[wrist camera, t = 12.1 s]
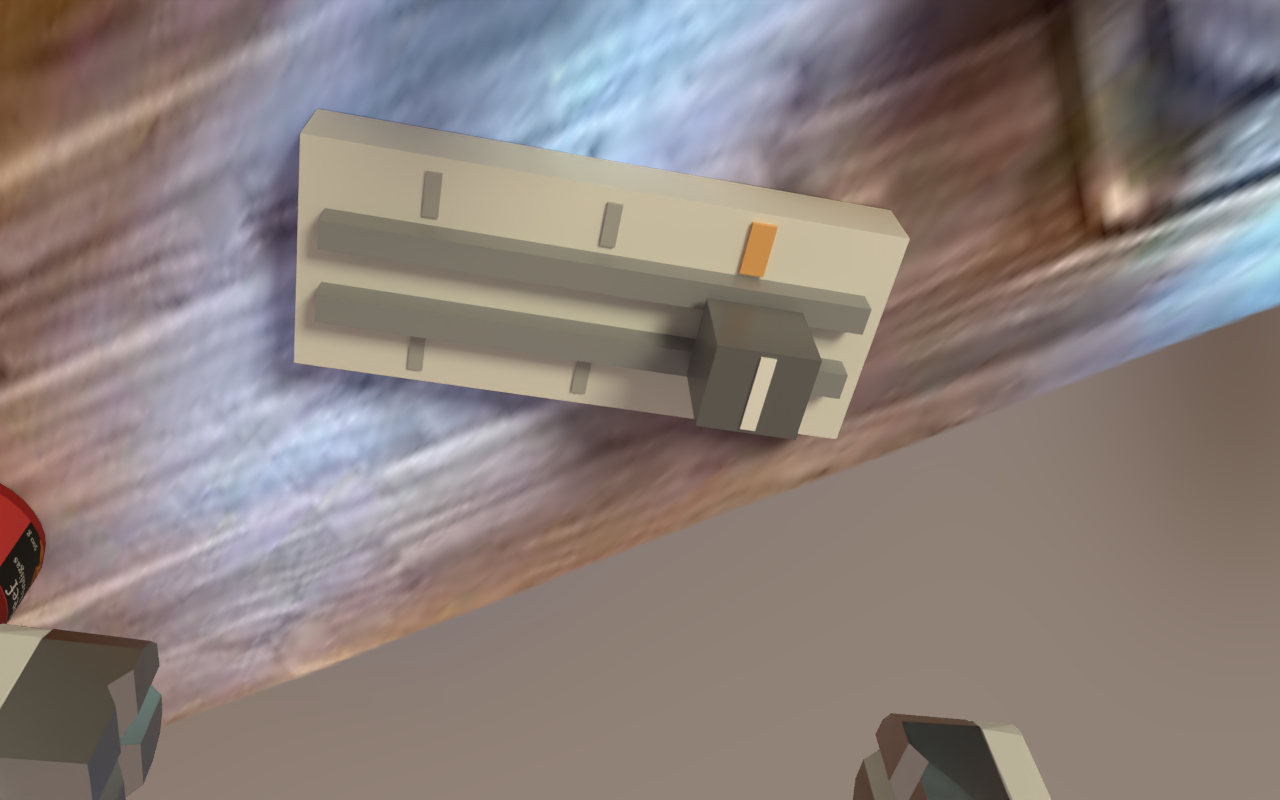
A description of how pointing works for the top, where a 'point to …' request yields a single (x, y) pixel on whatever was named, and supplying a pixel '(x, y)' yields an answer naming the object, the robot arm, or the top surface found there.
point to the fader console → (564, 267)
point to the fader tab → (752, 369)
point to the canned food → (17, 551)
